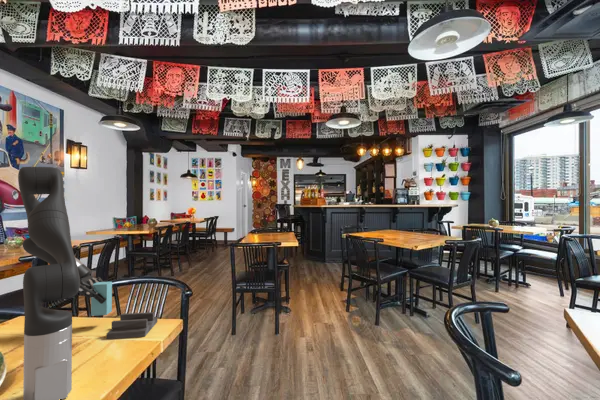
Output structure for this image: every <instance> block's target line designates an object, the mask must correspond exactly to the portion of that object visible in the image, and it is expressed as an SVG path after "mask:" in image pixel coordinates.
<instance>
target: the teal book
mask: <svg viewBox="0 0 600 400" xmlns="http://www.w3.org/2000/svg"><path fill="white" fill-rule="evenodd" d="M93 286H94V287H95V288H96V290H97V291H98V292H99V293H100V294H101V295H102V296H103V297H104V298H106V301H105V302H104V303H102V304H101V303H100V302H98V301H97V300H96V299H95V298H92V297H91V298H90V303H91V304H90V316H91V317H92V316H107V315H108V314H110V313H111V312H113V310H112V309H113V308H112V307H113V290H112V289H113V281H103V282H98V283H94V284H93ZM91 289H92V288H91ZM93 292H94V291H93ZM99 293H98V294H99Z"/></svg>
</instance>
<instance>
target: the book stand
mask: <svg viewBox="0 0 600 400" xmlns="http://www.w3.org/2000/svg"><path fill="white" fill-rule="evenodd" d="M119 315H120V319H119V320H118V319H117V320H112V321H111V329H110V330H109V331H107V332H106V340H109V339H110V340H111V339H114V340H115V339H126V338H142V337H146V336H147V335H148V333H150V331H151V330H152V329H153V328H154V327H155V325H156V324H157V323H158V317H157V316H155V312H153V311H151V312H150V311H149V312H131V313H129V312H128V313H121V314H119Z"/></svg>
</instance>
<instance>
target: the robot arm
mask: <svg viewBox="0 0 600 400" xmlns="http://www.w3.org/2000/svg"><path fill="white" fill-rule="evenodd" d="M17 180H18V181H17V182H18V189H19V192H20V196H21V199H22V204H23V207H24V210H25V213H26V218H27V232H28V233H27V234H28V237H27V238H25V239H24V240H23V241H22V248H23V250H24V251H25V252H26V253H27V254H29V255H31V256H33V257H36V258H38V259H40V260H42V261H44V262H46V263H48V264H45V265H36V266H31V267H28V268H27V269H26V270H25V272H24V274H23V278H22V279H23V280H22V289H23V290H22V293H23V304H24V305H23V306H24V325H23V327H24V328H23V329H24V330H23V383H22V384H23V387H22V388H23V393H22V394H23V399H22V400H59V399H62V400H64V399H67V398H68V397H69V396H68V395H69V394H70V393H71V391H72V389H73V388H72V385H73V384H72V382H73V381H72V380H73V379H72V377H73V376H72V375H73V370H72V369H73V367H72V366H73V365H72V364H73V363H72V362H73V359H72V358H73V356H72V355H73V315H72V313H71V312H70V311H68V310H62V309H54V308H53V309H51V308H47V307H45V306H43V304H44V303H49V302H53V301H54V302H55V301H59V300H65V299H69V298H72V297H75V296H76V295H77V294H78V293H79V294H80V295H82V296H84V297H86V298H88V299H91V297H92V298H95V299H96V300H97V301H98V302H100V303H101V304H102V303H104V302H105V301H106V298H104V297H103V296H102V295H101V294H100V293H99V292H98V291H97V290H96V288H95V287H94V286H93V284H94V283H98V282H104V280H103V279H102V278H101V277H100V276H98V277H95V276H92V270H91V269H90V268H89V267H88V266H86V264H84V263H83V262H82V261H81V260H80V259H78V258H77V257H76V255H75V253H74V249H73V246H72V237H71V226H70V222H69V216H68V211H67V206H66V201H65V188H64V177H63V173H62V171H61V170H60V169H59V168H58V167H53V166H52V167H51V166H22V167H21V168H19V171H18V175H17ZM35 195H47V196H46V197H45V198H44V199H43V200H41V201H39V200H38V199H37V198H36V196H35ZM91 288H92V289H91ZM93 291H94V292H93ZM98 293H99V294H98ZM66 397H67V398H66Z"/></svg>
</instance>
